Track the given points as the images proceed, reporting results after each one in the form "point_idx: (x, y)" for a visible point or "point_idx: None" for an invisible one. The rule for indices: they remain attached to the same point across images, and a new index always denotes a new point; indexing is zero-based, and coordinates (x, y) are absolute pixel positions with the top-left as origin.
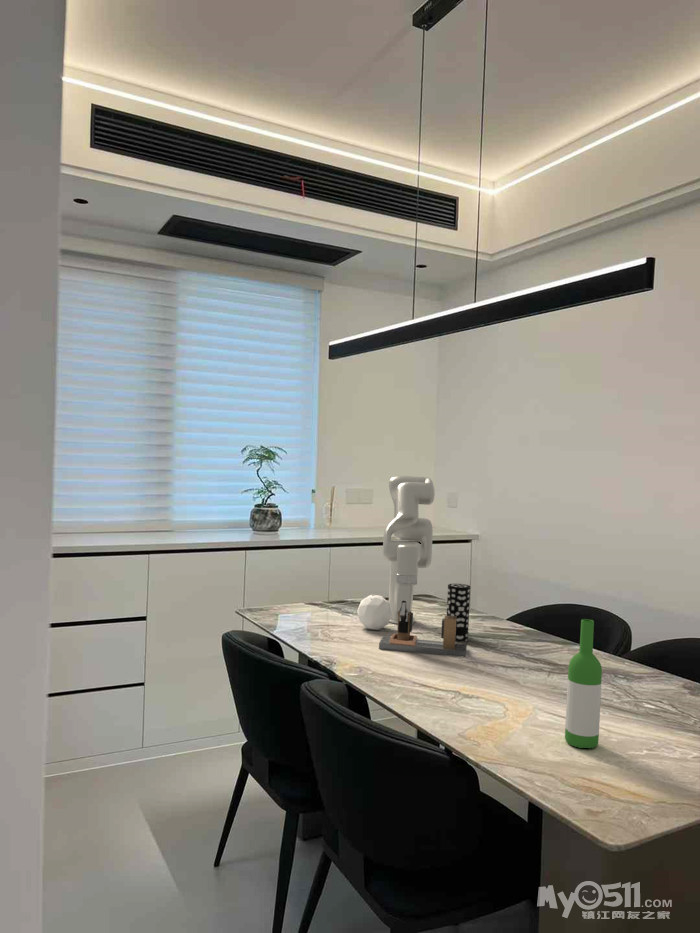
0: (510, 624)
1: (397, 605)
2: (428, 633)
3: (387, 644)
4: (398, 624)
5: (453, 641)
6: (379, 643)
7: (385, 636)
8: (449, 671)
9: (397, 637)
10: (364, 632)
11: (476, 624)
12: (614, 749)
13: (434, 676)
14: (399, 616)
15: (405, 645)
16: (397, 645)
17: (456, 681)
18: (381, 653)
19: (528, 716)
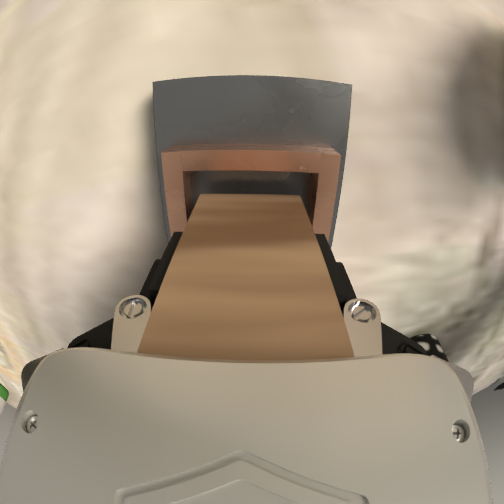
0: (478, 389)
1: (12, 429)
2: (475, 285)
3: (157, 134)
4: (174, 259)
5: None
6: (154, 84)
7: (349, 100)
8: (61, 341)
9: (197, 202)
10: (477, 22)
11: (500, 355)
12: (11, 397)
13: (13, 310)
14: (153, 325)
15: (170, 237)
16: (162, 194)
17: (24, 341)
18: (91, 120)
19: (7, 376)
